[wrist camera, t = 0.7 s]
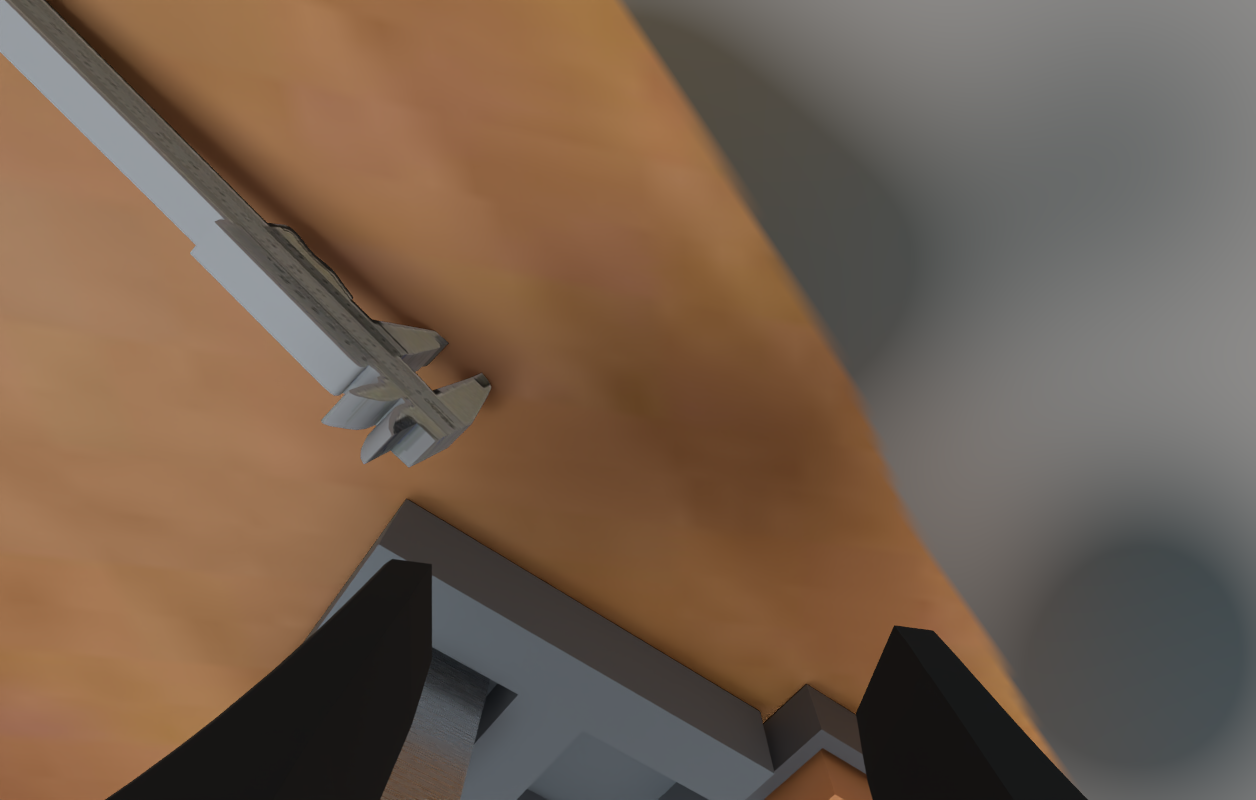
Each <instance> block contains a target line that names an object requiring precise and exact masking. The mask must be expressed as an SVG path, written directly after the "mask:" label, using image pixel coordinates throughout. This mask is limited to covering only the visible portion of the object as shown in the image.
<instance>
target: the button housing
mask: <svg viewBox="0 0 1256 800" xmlns="http://www.w3.org/2000/svg"><path fill="white" fill-rule="evenodd" d="M763 726H764V731H765V735H766V739H767V743H768V747H769V752H770V756H771V760H772V764H773V769H774V773H775V774H774V775H773V776H771V777H770V778H769V779H768V780H767V781H766V782H765V783H764V784H762V785H761V786H760V787H759V788H758V789H757V790H756V791H755V792H753V793H752V794H751V795H750V796H749V797H748V798H747V799H745V800H764V799H765V798H766V797H767V796H768V795H770V794H771V793H772V792H773V791H774V790H775V789H776V788H778V787H779V786H780V785H781V784H782V783H783V782H784V781H786V780H787V779H788V778H789V777H790V776H791V775H792V774H794V773H795V772H796V771H797V770H798V769H799V768H800V767H801V766H803V765H804V764H805V763H806V762H807V761H808V760H809V759H811V758H812V757H813V756H814V755H815V754H816V753H817V752H819V751H820V750H821V749H822V748H823V749H825V750H827V751H828V752H830V753H832V754H833V755H835V756H837V757H838V758H840V759H842V760H843V761H845V762H847V763H848V764H850V765H852V766H853V767H855V768H857V769H858V770H860V771H862V772H863V773H865V774H866V770H865V765H864V759H863V754H862V748H861V742H860V736H859V729H858V723H857V717H856V715H855V714H853V713H852V712H850V711H849V710H847V709H845V708H844V707H842V706H841V705H839V704H837V703H836V702H834V701H833V700H831V699H829V698H828V697H826V696H825V695H823V694H821V693H820V692H818V691H817V690H815V689H813V688H812V687H810V686H809V685H807V684H806V685H805V686H804V687H803V688H802V689H801V690H800V691H799V692H798V693H797V694H796V695H794V696H793V697H792V698H791V699H790V700H789V701H788V702H787V703H786V704H785V705H784V706H783V707H781V708H780V709H779V710H778V711H777V712H776V713H775V714H774V715H773V716H772V717H771V718H770V719H769V720H767V721H766V722H765V723H764V724H763Z"/></svg>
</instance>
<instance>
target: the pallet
mask: <svg viewBox="0 0 1256 800" xmlns="http://www.w3.org/2000/svg"><path fill="white" fill-rule="evenodd" d="M391 559H398V560H405V561H413V562H420V563H428V564H432V647H433V648H435V649H437V650H438V651H440V652H442V653H444V654H446V655H448V656H449V657H451V658H453V659H455V660H457V661H458V662H460V663H462V664H464V665H466V666H467V667H469V668H471V669H473V670H475V671H477V672H478V673H480V674H482V675H484V676H486V677H487V678H489V679H490V682H489V686H488V690H487V694H486V698H485V702H484V706H483V710H482V714H481V718H480V722H479V726H478V730H477V734H476V738H475V742H474V746H473V750H472V754H471V758H470V762H469V766H468V770H467V774H466V778H465V782H464V786H463V790H462V794H461V798H460V800H745V799H747V798H748V797H749V796H750V795H751V794H752V793H753V792H755V791H756V790H757V789H758V788H759V787H760V786H761V785H762V784H764V783H765V782H766V781H767V780H768V779H769V778H770V777H771V776H773V775H774V774H775V773H774V769H773V764H772V760H771V756H770V752H769V747H768V743H767V739H766V735H765V731H764V726H763V722H762V718H761V714H760V711H758V710H756V709H755V708H753V707H751V706H750V705H748V704H746V703H745V702H743V701H741V700H740V699H738V698H736V697H735V696H733V695H731V694H730V693H728V692H726V691H725V690H723V689H721V688H720V687H718V686H716V685H715V684H713V683H711V682H710V681H708V680H706V679H705V678H703V677H701V676H700V675H698V674H696V673H695V672H693V671H692V670H690V669H688V668H687V667H685V666H683V665H682V664H680V663H678V662H677V661H675V660H673V659H672V658H670V657H668V656H667V655H665V654H663V653H662V652H660V651H658V650H657V649H655V648H653V647H652V646H650V645H648V644H647V643H645V642H643V641H642V640H640V639H638V638H637V637H635V636H633V635H632V634H630V633H628V632H627V631H625V630H623V629H622V628H620V627H618V626H617V625H615V624H613V623H612V622H610V621H608V620H607V619H605V618H603V617H602V616H600V615H598V614H597V613H595V612H594V611H592V610H590V609H589V608H587V607H585V606H584V605H582V604H580V603H579V602H577V601H575V600H574V599H572V598H570V597H569V596H567V595H565V594H564V593H562V592H560V591H559V590H557V589H555V588H554V587H552V586H550V585H549V584H547V583H545V582H544V581H542V580H540V579H539V578H537V577H535V576H534V575H532V574H530V573H529V572H527V571H525V570H524V569H522V568H520V567H519V566H517V565H515V564H514V563H512V562H510V561H509V560H507V559H505V558H504V557H502V556H500V555H499V554H497V553H496V552H494V551H492V550H491V549H489V548H487V547H486V546H484V545H482V544H481V543H479V542H477V541H476V540H474V539H472V538H471V537H469V536H467V535H466V534H464V533H462V532H461V531H459V530H457V529H456V528H454V527H452V526H451V525H449V524H447V523H446V522H444V521H442V520H441V519H439V518H437V517H436V516H434V515H432V514H431V513H429V512H427V511H426V510H424V509H422V508H421V507H419V506H417V505H416V504H414V503H412V502H411V501H409V500H407V499H406V500H405V501H404V503H403V504H402V506H401V507H400V508H399V510H398V511H397V512H396V514H395V515H394V517H393V518H392V519H391V521H390V522H389V524H388V525H387V526H386V528H385V529H384V531H383V532H382V533H381V535H380V536H379V538H378V539H377V540H376V542H375V543H374V545H373V546H372V547H371V549H370V550H369V552H368V553H367V554H366V556H365V557H364V559H363V560H362V561H361V563H360V564H359V566H358V567H357V568H356V570H355V571H354V573H353V574H352V575H351V577H350V578H349V580H348V581H347V582H346V584H345V585H344V587H343V588H342V589H341V591H340V592H339V594H338V595H337V596H336V598H335V599H334V600H333V602H332V603H331V605H330V606H329V607H328V609H327V610H326V612H325V613H324V614H323V616H322V617H321V619H320V620H319V621H318V623H317V624H316V626H315V627H314V628H313V630H312V631H311V633H310V634H309V635H308V637H307V638H306V640H307V639H308V638H309V637H310V636H311V635H313V634H314V633H315V632H316V631H317V630H318V629H319V628H320V627H321V626H322V625H323V624H324V623H326V622H327V621H328V620H329V619H330V618H331V617H332V616H333V615H334V614H335V613H336V612H337V611H338V610H339V609H340V608H341V607H342V606H343V605H344V604H345V603H346V602H347V601H348V600H349V599H350V598H351V597H352V596H353V595H354V594H355V593H356V592H357V591H358V590H360V589H361V588H362V587H363V585H364V584H365V583H366V582H367V581H368V580H369V579H370V578H371V577H372V576H373V575H374V574H375V573H376V572H377V571H378V570H379V569H380V568H381V567H382V566H383V565H384V564H385V563H387V562H388V561H390V560H391ZM306 640H305V641H306ZM305 641H304V642H305ZM304 642H303V643H304Z"/></svg>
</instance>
